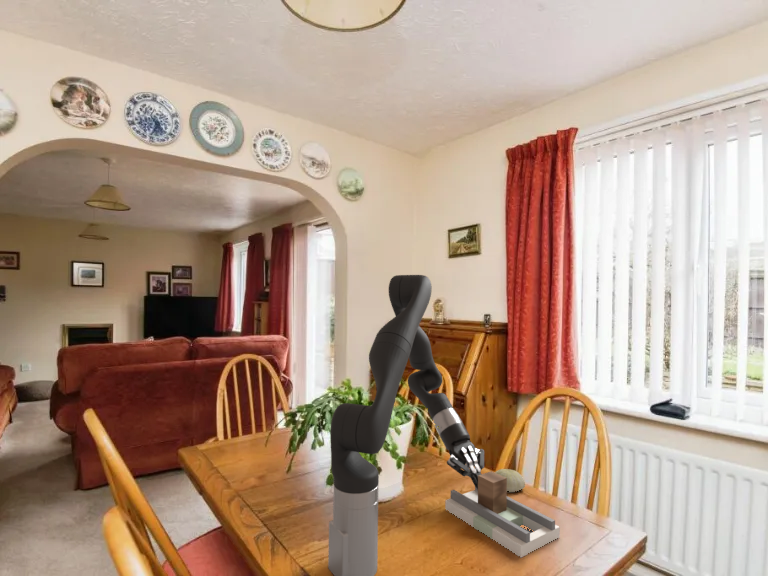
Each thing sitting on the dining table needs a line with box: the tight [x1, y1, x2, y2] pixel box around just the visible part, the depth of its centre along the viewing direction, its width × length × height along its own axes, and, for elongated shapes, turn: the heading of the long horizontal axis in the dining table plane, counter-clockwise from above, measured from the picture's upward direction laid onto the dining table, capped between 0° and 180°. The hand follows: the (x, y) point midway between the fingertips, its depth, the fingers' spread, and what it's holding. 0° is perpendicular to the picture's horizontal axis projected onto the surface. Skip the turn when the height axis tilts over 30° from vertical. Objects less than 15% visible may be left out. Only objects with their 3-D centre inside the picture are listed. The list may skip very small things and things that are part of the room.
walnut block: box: [478, 470, 508, 514], centre depth 105 cm, size 5×5×8 cm
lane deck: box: [444, 486, 561, 558], centre depth 103 cm, size 14×24×4 cm, turn 34°
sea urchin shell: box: [494, 468, 526, 493], centre depth 123 cm, size 9×8×8 cm
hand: (482, 488), depth 108 cm, fingers closed
